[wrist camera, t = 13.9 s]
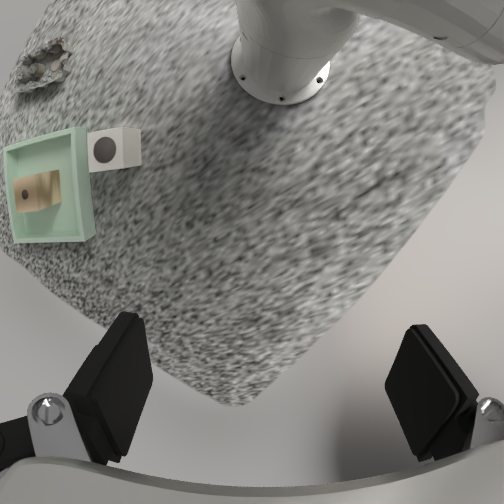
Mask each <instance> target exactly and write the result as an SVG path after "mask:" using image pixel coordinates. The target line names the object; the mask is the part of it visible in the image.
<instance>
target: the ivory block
mask: <svg viewBox="0 0 504 504" xmlns="http://www.w3.org/2000/svg"><path fill="white" fill-rule="evenodd" d="M87 145H88V166H89V173H91V172H98V171H106V170H114V169H123V168H129V167H134V166H140V165H142V158H141V129H137V128H130V127H116V128H111V129H105V130H100V131H94V132H89V133H87Z"/></svg>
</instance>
